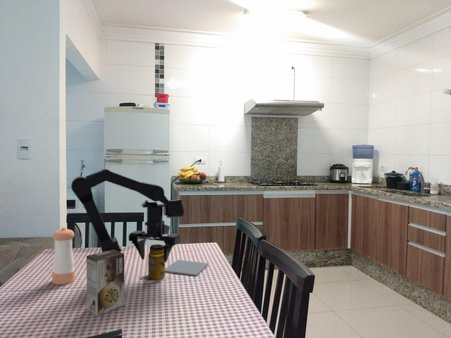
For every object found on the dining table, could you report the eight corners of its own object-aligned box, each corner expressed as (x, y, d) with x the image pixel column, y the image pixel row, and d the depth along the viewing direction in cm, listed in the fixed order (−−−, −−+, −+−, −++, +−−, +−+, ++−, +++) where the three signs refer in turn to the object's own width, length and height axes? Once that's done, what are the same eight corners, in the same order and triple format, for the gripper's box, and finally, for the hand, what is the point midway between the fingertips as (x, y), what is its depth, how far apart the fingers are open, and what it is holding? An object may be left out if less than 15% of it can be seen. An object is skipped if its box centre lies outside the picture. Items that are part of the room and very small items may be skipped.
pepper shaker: (65, 285, 116) (65, 230, 115) (47, 283, 118) (47, 229, 117) (79, 278, 123) (79, 226, 122) (61, 276, 125) (61, 225, 124)
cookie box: (113, 299, 106) (113, 248, 105) (125, 305, 102) (125, 252, 101) (85, 309, 99) (85, 255, 98) (97, 316, 95) (97, 259, 94)
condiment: (169, 278, 125) (169, 246, 125) (149, 284, 119) (149, 250, 119) (158, 273, 130) (158, 242, 130) (138, 278, 124) (139, 246, 124)
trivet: (196, 276, 127) (196, 274, 127) (162, 271, 131) (162, 270, 131) (208, 264, 141) (208, 263, 141) (177, 261, 145) (177, 259, 145)
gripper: (186, 216, 129) (186, 257, 130) (143, 213, 134) (143, 252, 135) (174, 222, 118) (173, 266, 119) (127, 218, 123) (127, 260, 124)
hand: (154, 260), depth 124 cm, fingers open, 9 cm apart
